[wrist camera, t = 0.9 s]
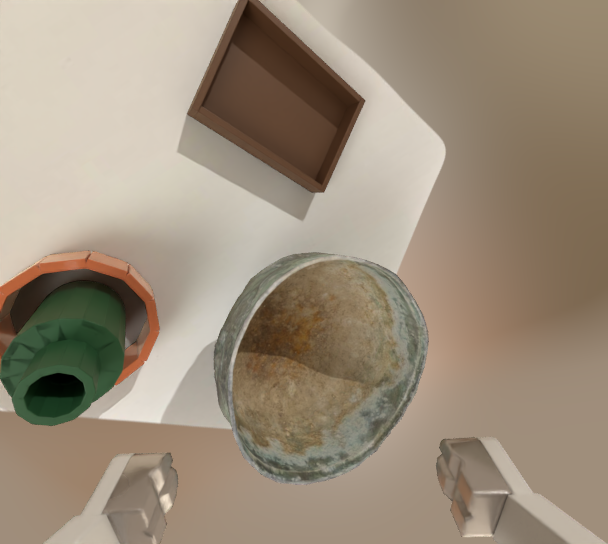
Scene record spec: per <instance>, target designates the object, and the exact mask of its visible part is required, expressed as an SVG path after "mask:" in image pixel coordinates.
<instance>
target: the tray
mask: <svg viewBox="0 0 608 544" xmlns="http://www.w3.org/2000/svg"><path fill="white" fill-rule="evenodd" d="M364 102H365V100H364V99H363V98H362V97H361V96H360V95H359V94H358V93H357V92H356V91H355V90H354V89H352V88H351V87H350V86H349V85H348V84H347V83H346V82H345V81H344V80H343V79H342V78H341V77H340V76H339V75H338V74H336V73H335V72H334V71H333V70H332V69H331V68H330V67H329V66H328V65H327V64H326V63H325V62H324V61H323V60H321V59H320V58H319V57H318V56H317V55H316V54H315V53H314V52H313V51H312V50H311V49H310V48H309V47H308V46H307V45H305V44H304V43H303V42H302V41H301V40H300V39H299V38H298V37H297V36H296V35H295V34H294V33H293V32H292V31H291V30H289V29H288V28H287V27H286V26H285V25H284V24H283V23H282V22H281V21H280V20H279V19H278V18H277V17H276V16H274V15H273V14H272V13H271V12H270V11H269V10H268V9H267V8H266V7H265V6H264V5H263V4H262V3H261V2H260V1H258V0H238V2H237V3H236V5H235V8H234V10H233V12H232V14H231V17H230V19H229V21H228V23H227V26H226V28H225V30H224V32H223V34H222V37H221V39H220V41H219V43H218V46H217V48H216V50H215V52H214V55H213V57H212V59H211V61H210V63H209V66H208V68H207V70H206V72H205V75H204V77H203V79H202V81H201V84H200V86H199V88H198V90H197V92H196V95H195V97H194V99H193V101H192V104H191V106H190V108H189V110H188V113H187V114H188V115H189V116H191V117H193V118H194V119H196V120H197V121H199V122H200V123H202V124H204V125H205V126H207V127H208V128H210V129H212V130H213V131H215V132H216V133H218V134H220V135H221V136H223V137H224V138H226V139H228V140H229V141H231V142H232V143H234V144H236V145H237V146H239V147H240V148H242V149H243V150H245V151H247V152H248V153H250V154H251V155H253V156H255V157H256V158H258V159H259V160H261V161H263V162H264V163H266V164H267V165H269V166H271V167H272V168H274V169H275V170H277V171H278V172H280V173H282V174H283V175H285V176H286V177H288V178H290V179H291V180H293V181H294V182H296V183H298V184H299V185H301V186H302V187H304V188H306V189H307V190H309V191H310V192H324V191H325V189H326V187H327V185H328V182H329V180H330V178H331V176H332V173H333V171H334V169H335V167H336V165H337V162H338V160H339V158H340V156H341V153H342V151H343V149H344V147H345V145H346V142H347V140H348V138H349V136H350V133H351V131H352V129H353V127H354V125H355V122H356V120H357V118H358V116H359V113H360V111H361V109H362V107H363V105H364Z"/></svg>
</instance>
